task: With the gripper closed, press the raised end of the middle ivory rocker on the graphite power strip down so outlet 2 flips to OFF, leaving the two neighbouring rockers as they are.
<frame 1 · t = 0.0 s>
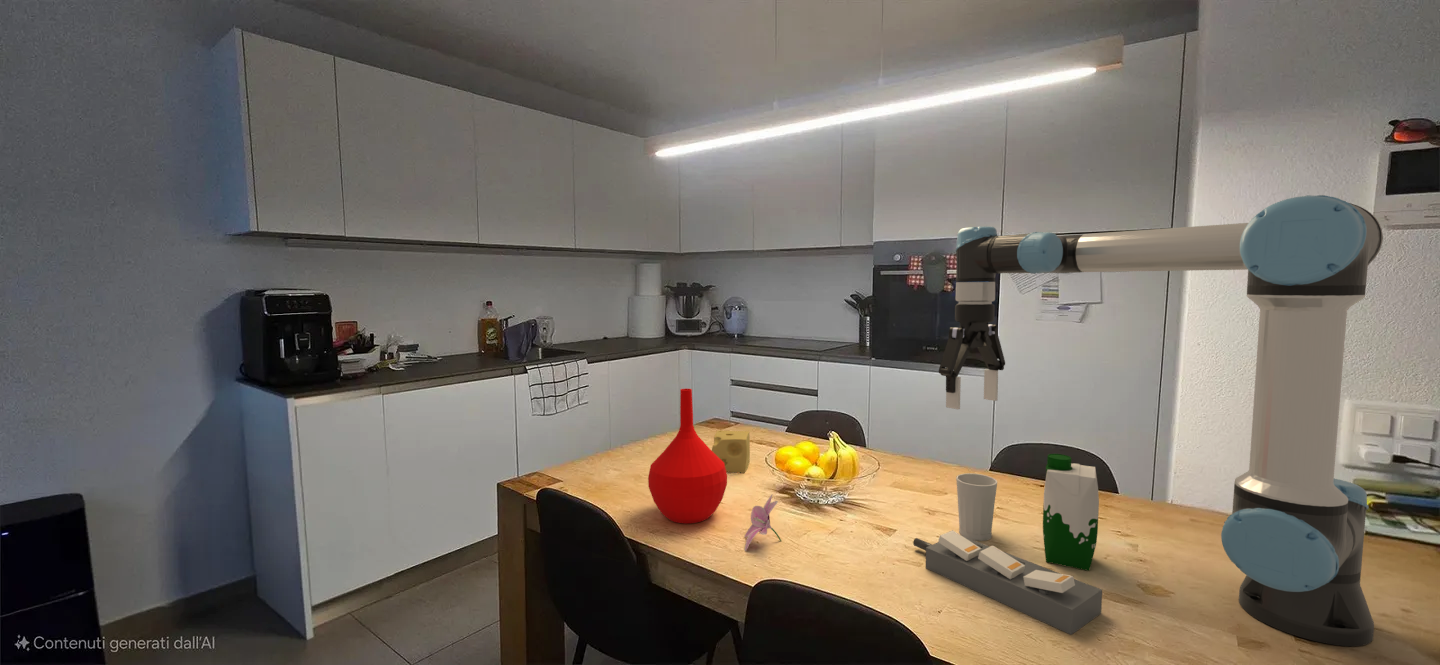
hand: (972, 404, 124), 28 cm above the table, fingers open, 13 cm apart
cheese: (731, 468, 173), on the table
lily: (761, 543, 123), on the table
milk carton: (1068, 560, 114), on the table
rocker 3: (959, 545, 108), point 6 cm above the table, hinge at -13.0°
rocker 1: (1048, 580, 95), point 6 cm above the table, hinge at 13.0°
power strip: (1006, 588, 103), on the table
cup: (975, 535, 125), on the table
vase: (688, 516, 137), on the table
rocker 2: (1001, 561, 102), point 6 cm above the table, hinge at -13.0°
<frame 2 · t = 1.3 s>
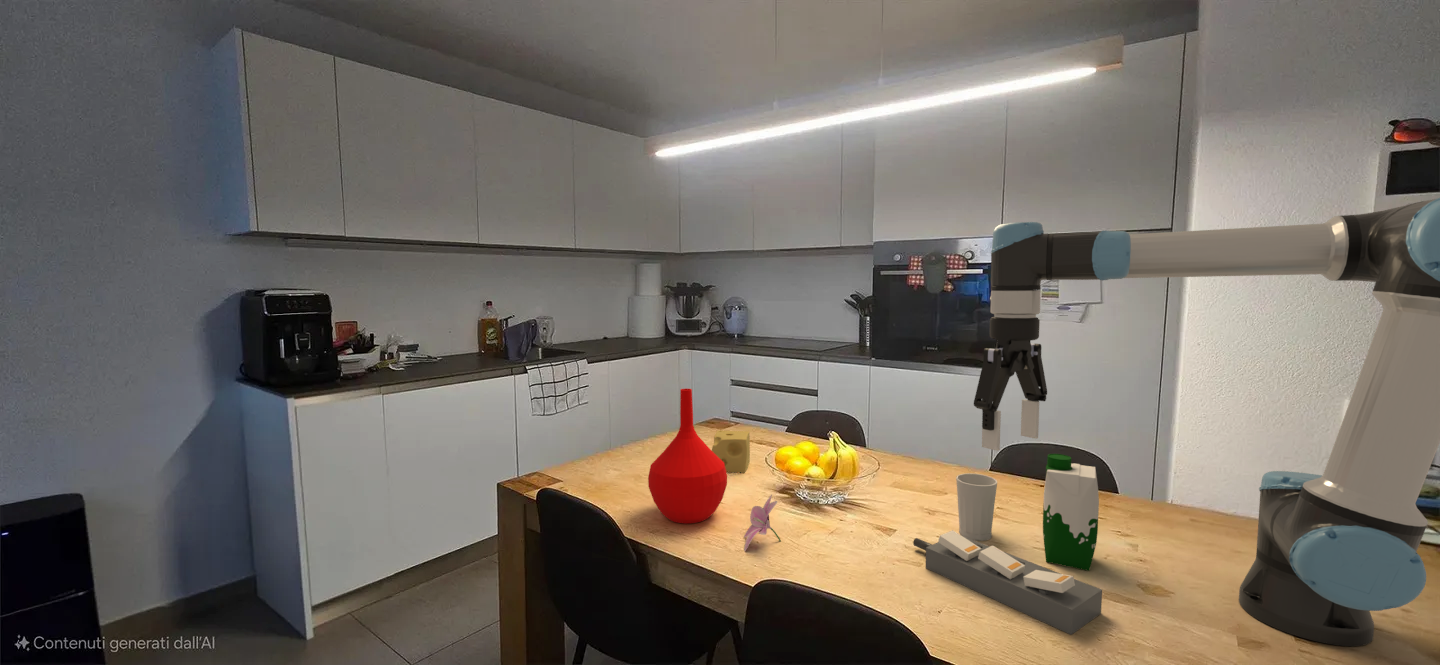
hand: (1010, 442, 101), 26 cm above the table, fingers open, 11 cm apart
nothing on the table moved.
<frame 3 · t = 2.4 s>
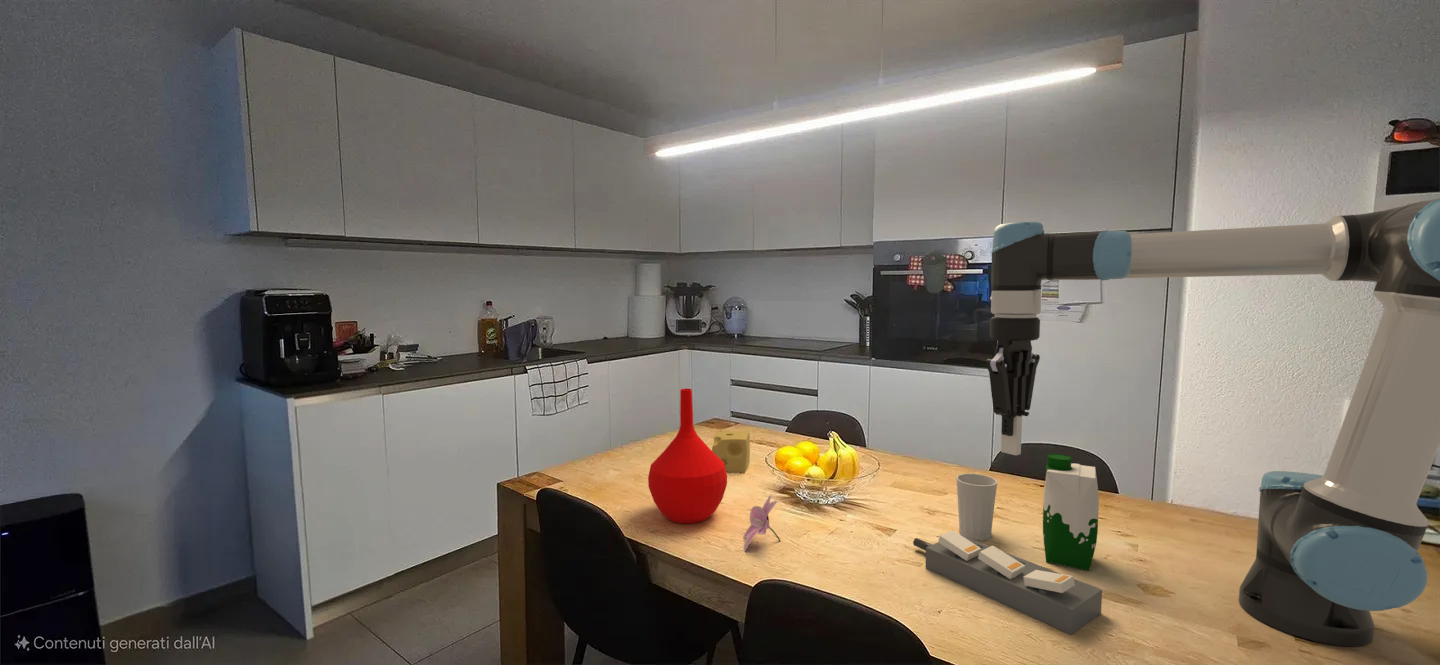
hand: (1010, 452, 101), 24 cm above the table, fingers closed
nothing on the table moved.
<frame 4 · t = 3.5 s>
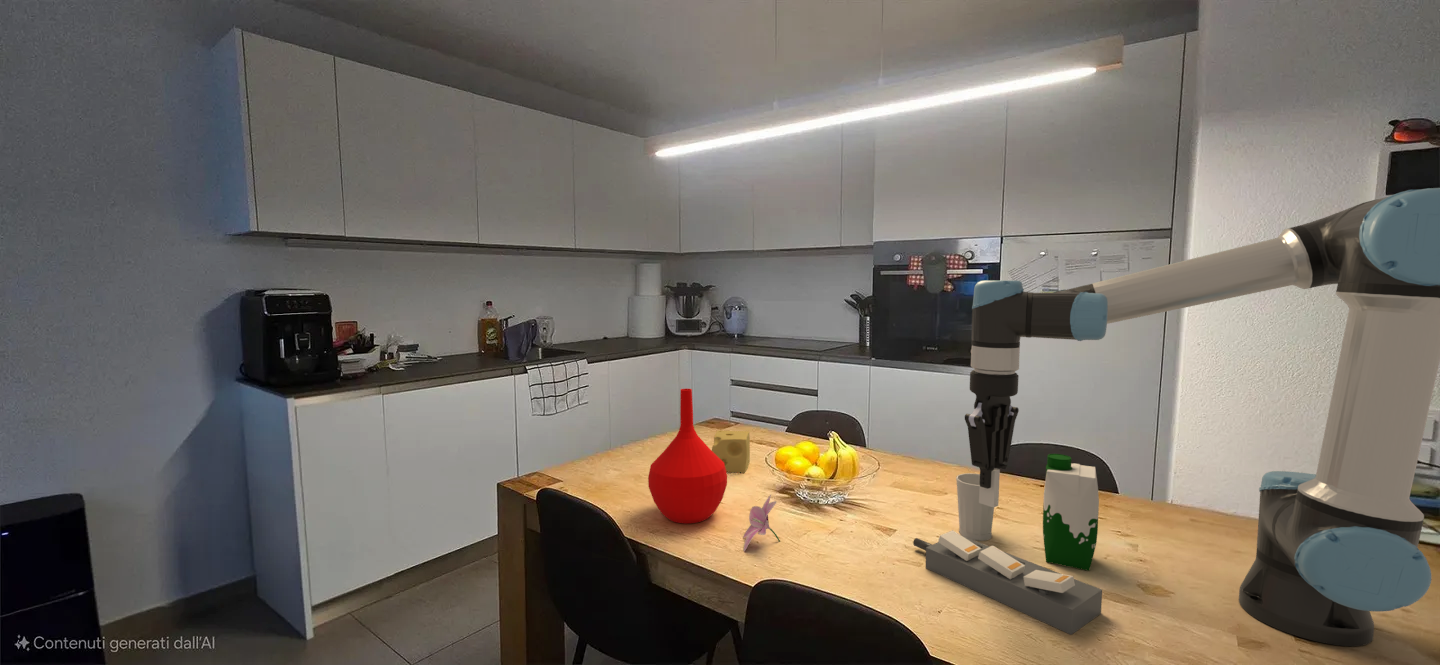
hand: (988, 504, 103), 15 cm above the table, fingers closed
nothing on the table moved.
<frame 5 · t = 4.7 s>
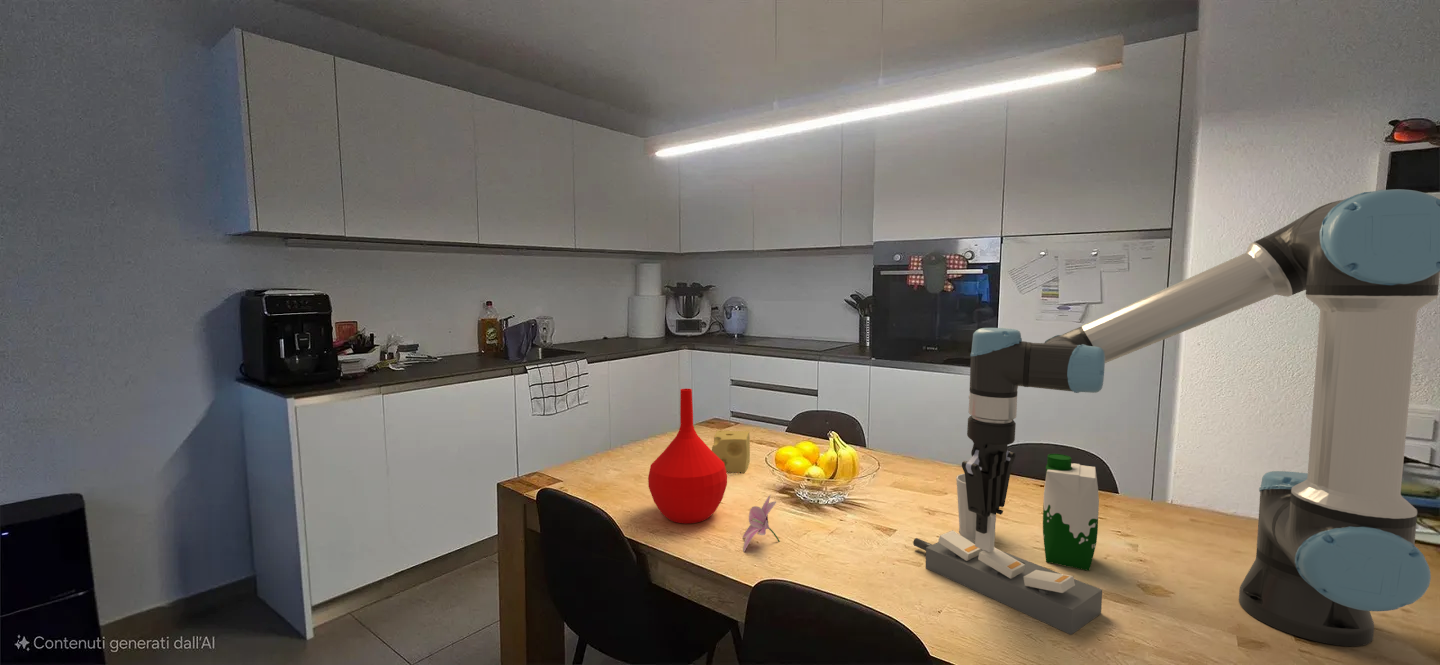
hand: (984, 548, 104), 7 cm above the table, fingers closed
rocker 2: (1001, 561, 102), point 6 cm above the table, hinge at -10.0°, touching gripper
everything else where it was.
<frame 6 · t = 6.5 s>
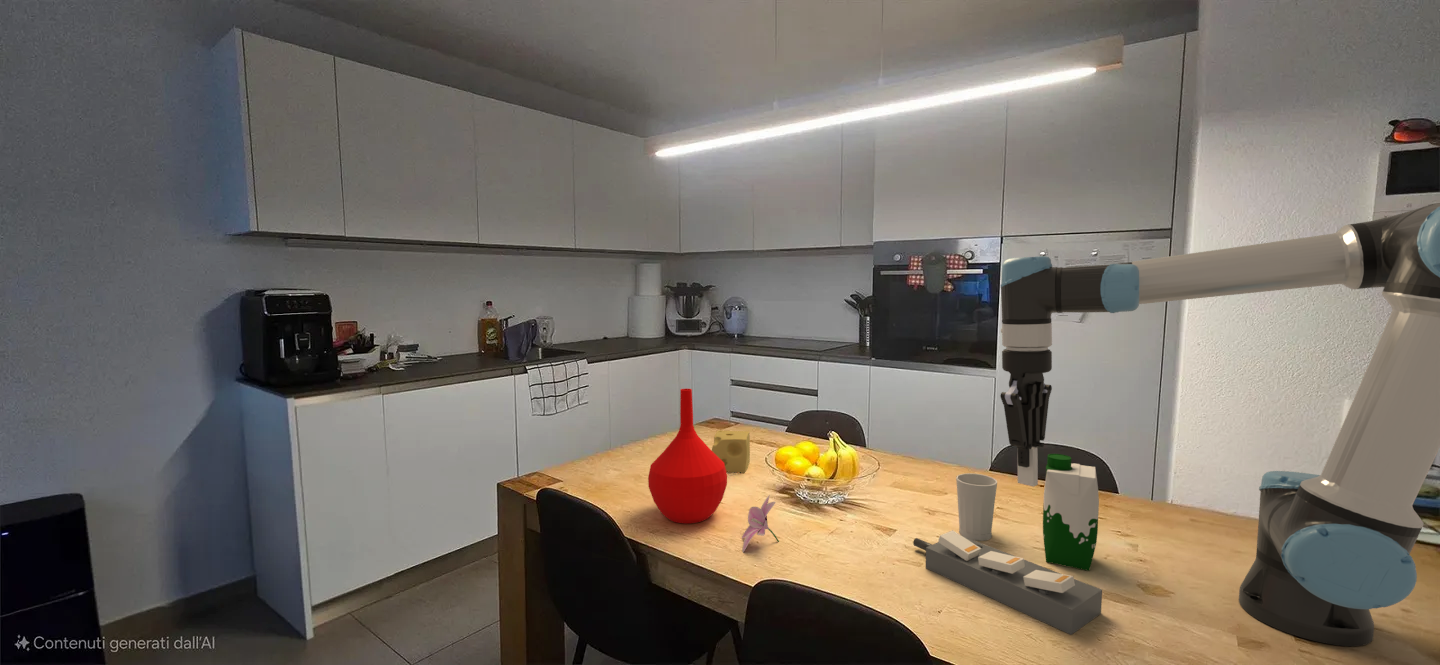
hand: (1027, 483, 102), 19 cm above the table, fingers closed
rocker 2: (1001, 561, 102), point 6 cm above the table, hinge at 8.9°
everything else where it was.
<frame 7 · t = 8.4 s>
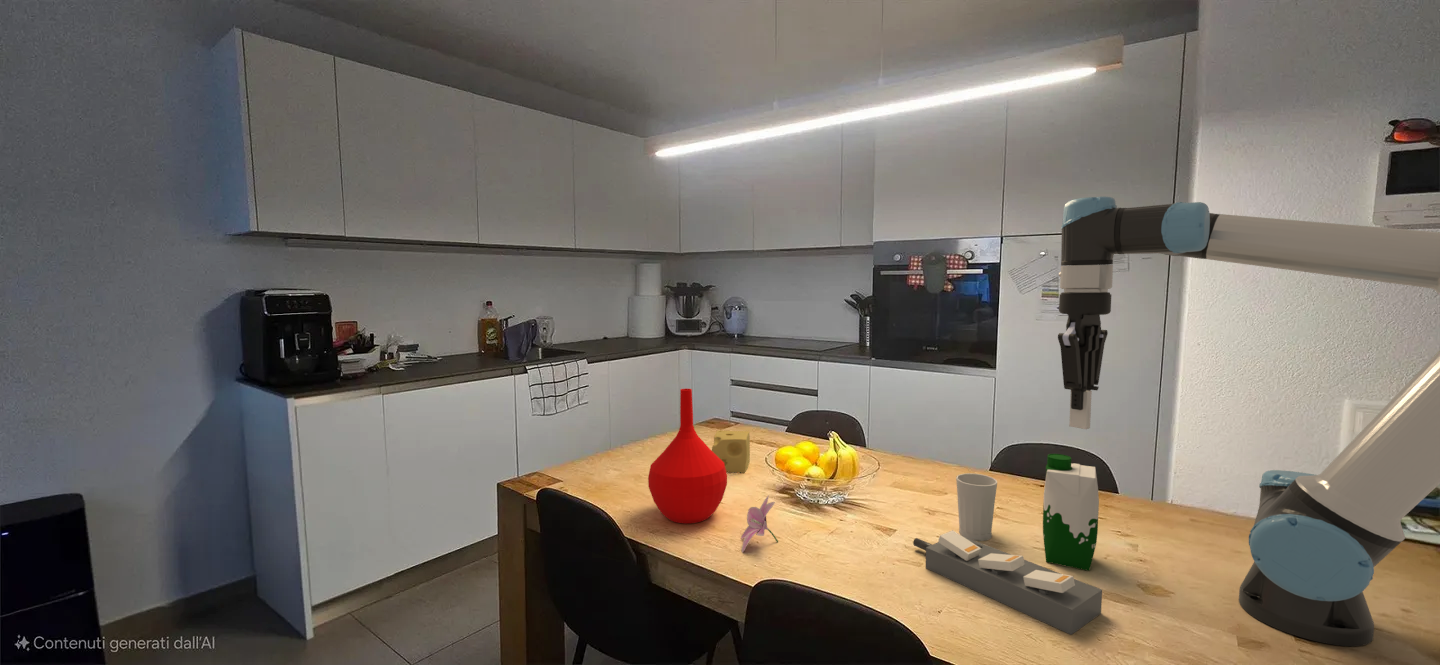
hand: (1079, 427, 102), 28 cm above the table, fingers closed
rocker 2: (1001, 561, 102), point 6 cm above the table, hinge at 17.1°, touching power strip
everything else where it was.
at the end: rocker 2 at +17° (first picture: -13°); rocker 1 at +13° (first picture: +13°); rocker 3 at -13° (first picture: -13°) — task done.
